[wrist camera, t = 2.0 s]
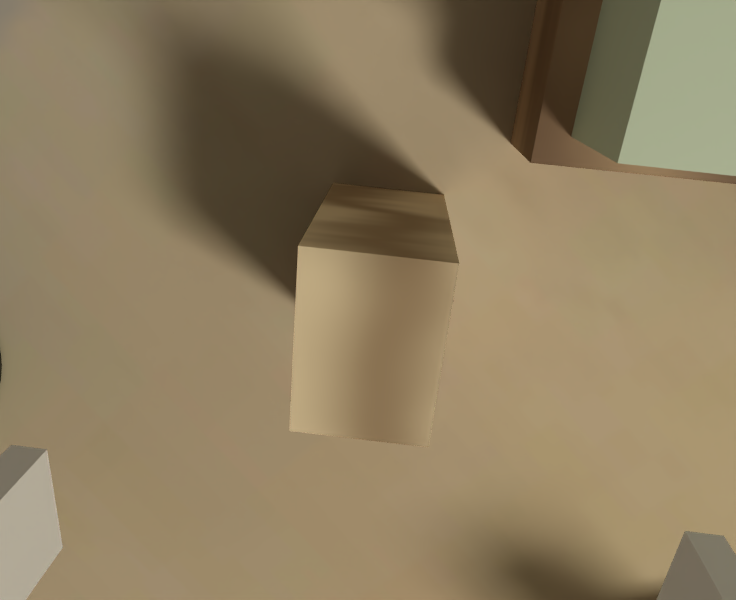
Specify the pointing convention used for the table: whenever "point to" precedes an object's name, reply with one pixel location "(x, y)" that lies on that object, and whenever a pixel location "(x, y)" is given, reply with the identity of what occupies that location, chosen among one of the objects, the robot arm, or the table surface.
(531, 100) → the walnut slab
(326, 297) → the oak block
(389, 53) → the table surface
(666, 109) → the sage slab
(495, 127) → the table surface
